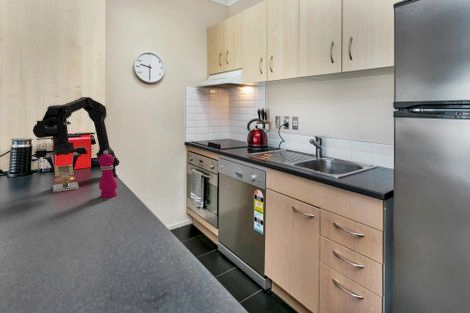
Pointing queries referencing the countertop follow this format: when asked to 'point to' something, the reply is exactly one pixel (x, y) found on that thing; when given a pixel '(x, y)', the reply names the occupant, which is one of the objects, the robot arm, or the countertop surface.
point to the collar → (63, 170)
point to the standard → (65, 184)
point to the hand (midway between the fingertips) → (64, 171)
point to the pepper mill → (107, 176)
